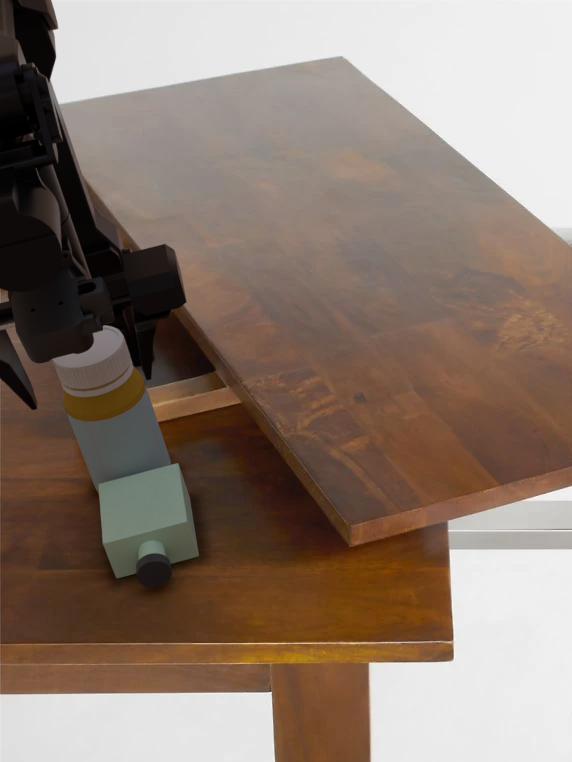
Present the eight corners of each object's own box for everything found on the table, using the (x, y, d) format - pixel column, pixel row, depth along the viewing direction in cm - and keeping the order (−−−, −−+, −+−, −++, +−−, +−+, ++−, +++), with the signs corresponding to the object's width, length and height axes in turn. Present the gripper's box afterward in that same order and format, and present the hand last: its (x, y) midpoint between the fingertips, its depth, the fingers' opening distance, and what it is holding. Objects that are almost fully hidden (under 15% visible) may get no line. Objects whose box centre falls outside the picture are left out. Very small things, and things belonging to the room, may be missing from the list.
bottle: (159, 508, 120) (111, 370, 112) (85, 507, 122) (32, 371, 113) (184, 457, 126) (140, 321, 117) (113, 457, 128) (65, 322, 119)
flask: (111, 518, 120) (98, 483, 118) (189, 497, 121) (178, 462, 119) (118, 603, 112) (104, 568, 109) (203, 580, 112) (190, 544, 110)
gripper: (-105, 310, 94) (-27, 484, 103) (164, 242, 95) (217, 419, 105) (-94, 234, 103) (-23, 400, 112) (152, 173, 104) (202, 342, 113)
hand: (92, 392), depth 110 cm, fingers open, 9 cm apart
